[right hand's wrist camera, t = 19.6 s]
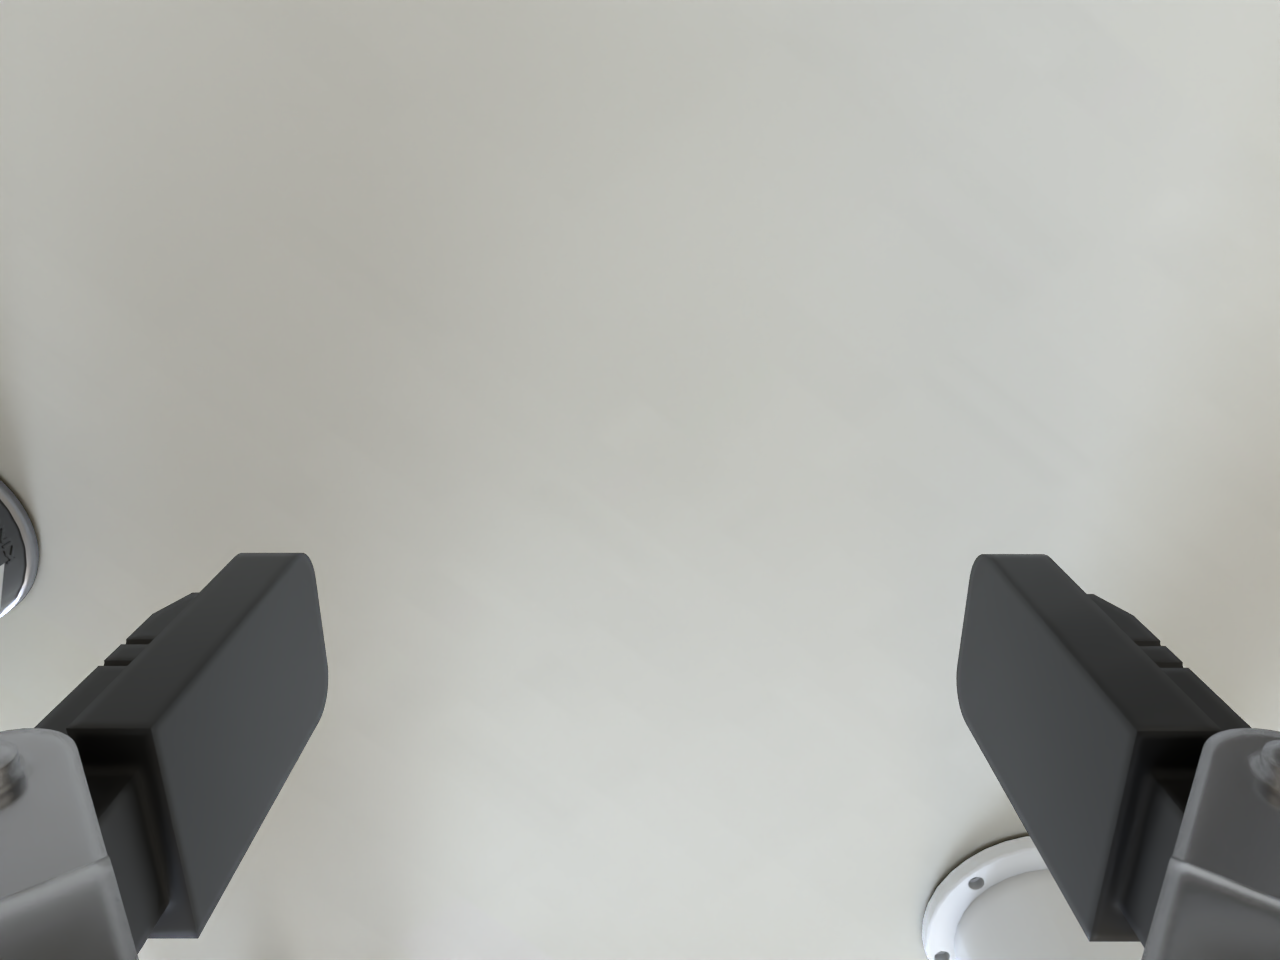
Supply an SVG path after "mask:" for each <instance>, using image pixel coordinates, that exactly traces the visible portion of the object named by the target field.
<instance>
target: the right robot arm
mask: <svg viewBox="0 0 1280 960" xmlns="http://www.w3.org/2000/svg"><path fill="white" fill-rule="evenodd" d="M38 560H39V553H38V544H37V538H36V535H35V531H34V528H33V526H32V523H31V521H30V519H29V517H28V515H27V513H26V511H25V509H24V508H23V506H22V504H21V503H20V502H19V500H18V499H17V497H16V496H15V495H14V494H13V493H12V491H11V490H10V489H9V488H8V487H7V486H6V485H5V484H4V483H3V482H2V481H1V480H0V617H2V616H3V615H4V614H6V613H7V612H9V611H10V610H11V609H13V608H14V607H15V606H17V605H18V604H19V603H20V602H21V601H22V600H23V599H24V597H25V596H26V595H27V594H28V592H29V590H30V589H31V587H32V585H33V582H34V580H35V577H36V574H37V569H38ZM1182 663H1183V662H1182V661H1181V660H1180V659H1178V658H1177V657H1176V656H1175V655H1174V654H1173V653H1172V652H1171V651H1170V650H1169V649H1168V648H1167V647H1166V646H1161V645H1160V640H1159V639H1157V638H1156V637H1155V636H1154V635H1153V634H1152V633H1151V632H1150V631H1149V630H1148V629H1147V628H1146V627H1145V626H1144V625H1143V624H1142V623H1141V622H1140V621H1139V620H1138V619H1136V618H1135V617H1134V616H1133V615H1131V614H1129V613H1127V612H1126V611H1124V610H1122V609H1120V608H1118V607H1116V606H1114V605H1113V604H1111V603H1109V602H1107V601H1105V600H1103V599H1101V598H1099V597H1098V596H1096V595H1094V594H1086V593H1085V592H1084V591H1083V590H1082V589H1081V588H1080V587H1079V586H1078V585H1077V584H1076V583H1075V582H1074V581H1073V580H1072V579H1071V578H1070V577H1069V576H1068V575H1067V574H1066V573H1065V572H1064V571H1063V570H1062V569H1061V568H1060V567H1059V566H1058V565H1057V564H1056V563H1055V562H1054V561H1053V560H1052V559H1051V558H1050V557H1049V556H1047V555H1045V554H981V555H979V556H978V557H977V558H976V560H975V562H974V564H973V566H972V570H971V574H970V580H969V587H968V594H967V601H966V608H965V615H964V622H963V629H962V637H961V644H960V651H959V658H958V665H957V693H958V700H959V705H960V709H961V712H962V715H963V718H964V720H965V722H966V724H967V726H968V728H969V729H970V731H971V733H972V735H973V736H974V738H975V740H976V742H977V744H978V745H979V747H980V749H981V751H982V752H983V754H984V756H985V758H986V759H987V761H988V763H989V765H990V767H991V768H992V770H993V772H994V774H995V775H996V777H997V779H998V781H999V782H1000V784H1001V786H1002V788H1003V790H1004V791H1005V793H1006V795H1007V797H1008V798H1009V800H1010V802H1011V804H1012V806H1013V807H1014V809H1015V811H1016V813H1017V814H1018V816H1019V818H1020V820H1021V821H1022V823H1023V825H1024V827H1025V829H1026V830H1027V832H1028V834H1029V836H1030V837H1031V839H1032V841H1033V843H1034V844H1035V846H1036V848H1037V850H1038V852H1039V853H1040V855H1041V857H1042V859H1043V860H1044V862H1045V864H1046V866H1047V868H1048V869H1049V871H1050V873H1051V875H1052V876H1053V878H1054V880H1055V882H1056V883H1057V885H1058V887H1059V889H1060V891H1061V892H1062V894H1063V896H1064V898H1065V899H1066V901H1067V903H1068V905H1069V906H1070V908H1071V910H1072V912H1073V914H1074V915H1075V917H1076V919H1077V921H1078V922H1079V924H1080V926H1081V928H1082V930H1083V931H1084V933H1085V935H1086V937H1087V938H1088V940H1089V942H1141V944H1142V945H1143V947H1144V952H1143V955H1142V959H1141V960H1280V732H1278V731H1273V730H1265V729H1257V728H1251V727H1250V726H1249V725H1248V724H1247V723H1246V722H1245V721H1244V720H1242V719H1241V718H1240V717H1239V716H1238V715H1237V714H1236V713H1235V712H1234V711H1233V710H1232V709H1231V708H1230V707H1229V706H1228V705H1227V704H1226V703H1225V702H1224V701H1223V700H1221V699H1220V698H1219V697H1218V696H1217V695H1216V694H1215V693H1214V692H1213V691H1212V690H1211V689H1210V688H1209V687H1208V686H1207V685H1206V684H1205V683H1204V682H1203V681H1202V680H1200V679H1199V678H1198V677H1197V676H1196V675H1195V674H1194V673H1193V672H1192V671H1191V670H1190V669H1189V668H1183V665H1182ZM327 690H328V665H327V658H326V650H325V643H324V636H323V629H322V622H321V614H320V607H319V600H318V593H317V586H316V578H315V572H314V568H313V565H312V562H311V560H310V558H309V557H308V556H307V555H306V554H304V553H240V554H238V555H237V556H235V557H234V558H233V559H232V560H231V561H230V562H229V563H228V564H227V565H226V566H225V567H224V568H223V569H222V570H221V571H220V572H219V573H218V574H217V575H216V576H215V577H214V578H213V579H212V581H211V582H210V583H209V584H208V585H207V586H206V587H205V588H204V589H203V590H202V591H201V592H200V593H191V594H189V595H187V596H185V597H184V598H182V599H180V600H178V601H176V602H174V603H172V604H171V605H169V606H167V607H165V608H163V609H161V610H159V611H157V612H156V613H154V614H152V615H151V616H150V617H149V618H148V619H147V620H146V621H145V622H144V623H143V624H142V625H141V626H140V627H139V628H138V629H137V630H136V631H134V632H133V633H132V634H131V635H130V636H129V637H128V638H127V639H126V644H121V645H120V646H119V647H118V648H117V649H116V650H115V651H114V652H113V653H112V654H111V655H110V656H108V657H107V658H106V659H105V660H104V666H98V667H97V668H96V669H95V670H94V671H93V672H92V673H91V674H90V675H89V676H88V677H87V678H86V679H85V680H83V681H82V682H81V683H80V684H79V685H78V686H77V687H76V688H75V689H74V690H73V691H72V692H71V693H70V694H69V695H68V696H67V697H66V698H65V699H64V700H63V701H62V702H61V703H60V704H59V705H57V706H56V707H55V708H54V709H53V710H52V711H51V712H50V713H49V714H48V715H47V716H46V717H45V718H44V719H43V720H42V721H41V722H40V723H39V724H38V725H37V726H36V727H35V728H23V729H15V730H7V731H2V732H0V960H139V959H138V955H137V954H138V953H139V951H140V950H141V948H142V946H143V945H144V943H145V942H146V940H147V938H198V937H199V936H200V934H201V932H202V930H203V928H204V927H205V925H206V923H207V921H208V919H209V918H210V916H211V914H212V912H213V910H214V909H215V907H216V905H217V903H218V902H219V900H220V898H221V896H222V894H223V893H224V891H225V889H226V887H227V885H228V884H229V882H230V880H231V878H232V876H233V875H234V873H235V871H236V869H237V867H238V866H239V864H240V862H241V860H242V858H243V857H244V855H245V853H246V851H247V849H248V848H249V846H250V844H251V842H252V841H253V839H254V837H255V835H256V833H257V832H258V830H259V828H260V826H261V824H262V823H263V821H264V819H265V817H266V815H267V814H268V812H269V810H270V808H271V806H272V805H273V803H274V801H275V799H276V797H277V796H278V794H279V792H280V790H281V789H282V787H283V785H284V783H285V781H286V780H287V778H288V776H289V774H290V772H291V771H292V769H293V767H294V765H295V763H296V762H297V760H298V758H299V756H300V754H301V753H302V751H303V749H304V747H305V745H306V744H307V742H308V740H309V738H310V737H311V735H312V733H313V731H314V729H315V728H316V726H317V724H318V722H319V720H320V718H321V716H322V713H323V710H324V707H325V702H326V697H327Z"/></svg>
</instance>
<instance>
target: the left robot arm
mask: <svg viewBox="0 0 1280 960" xmlns="http://www.w3.org/2000/svg"><path fill="white" fill-rule="evenodd" d="M922 939H923V944H924V950H925V953H926V955H927V958H928V960H1141V959H1142V955H1143V952H1144V947H1143V945H1142V944H1141V942H1089V940H1088V938H1087V937H1086V935H1085V933H1084V931H1083V930H1082V928H1081V926H1080V924H1079V922H1078V921H1077V919H1076V917H1075V915H1074V914H1073V912H1072V910H1071V908H1070V906H1069V905H1068V903H1067V901H1066V899H1065V898H1064V896H1063V894H1062V892H1061V891H1060V889H1059V887H1058V885H1057V883H1056V882H1055V880H1054V878H1053V876H1052V875H1051V873H1050V871H1049V869H1048V868H1047V866H1046V864H1045V862H1044V860H1043V859H1042V857H1041V855H1040V853H1039V852H1038V850H1037V848H1036V846H1035V844H1034V843H1033V841H1032V839H1031V837H1030V836H1026V837H1022V838H1017V839H1013V840H1009V841H1005V842H1002V843H999V844H997V845H994V846H992V847H989V848H987V849H984V850H982V851H981V852H979V853H977V854H976V855H974V856H972V857H970V858H969V859H967V860H965V861H964V862H963V863H962V864H960V865H959V866H958V867H957V868H955V869H954V870H953V871H952V872H950V873H949V875H948V876H947V877H946V878H945V879H944V880H943V881H942V883H941V884H940V885H939V886H938V887H937V889H936V890H935V892H934V894H933V896H932V897H931V899H930V901H929V902H928V905H927V908H926V911H925V914H924V917H923V925H922Z"/></svg>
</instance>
